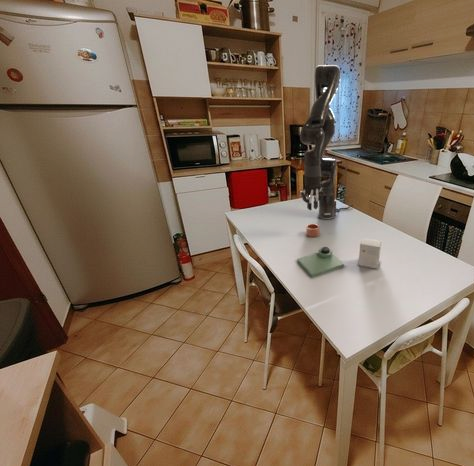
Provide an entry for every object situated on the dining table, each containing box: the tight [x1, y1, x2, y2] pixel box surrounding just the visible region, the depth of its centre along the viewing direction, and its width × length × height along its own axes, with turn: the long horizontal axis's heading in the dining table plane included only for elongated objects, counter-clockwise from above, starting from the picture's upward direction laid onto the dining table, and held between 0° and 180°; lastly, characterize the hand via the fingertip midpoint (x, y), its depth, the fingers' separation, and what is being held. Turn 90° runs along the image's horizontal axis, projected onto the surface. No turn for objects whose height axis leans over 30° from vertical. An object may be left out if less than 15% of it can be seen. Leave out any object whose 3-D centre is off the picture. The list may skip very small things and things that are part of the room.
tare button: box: [321, 246, 330, 254], centre depth 114 cm, size 3×3×2 cm
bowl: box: [305, 223, 320, 238], centre depth 133 cm, size 6×6×4 cm
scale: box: [297, 247, 345, 278], centre depth 110 cm, size 15×13×3 cm
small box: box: [358, 237, 382, 270], centre depth 109 cm, size 8×6×10 cm
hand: (312, 209), depth 128 cm, fingers closed
